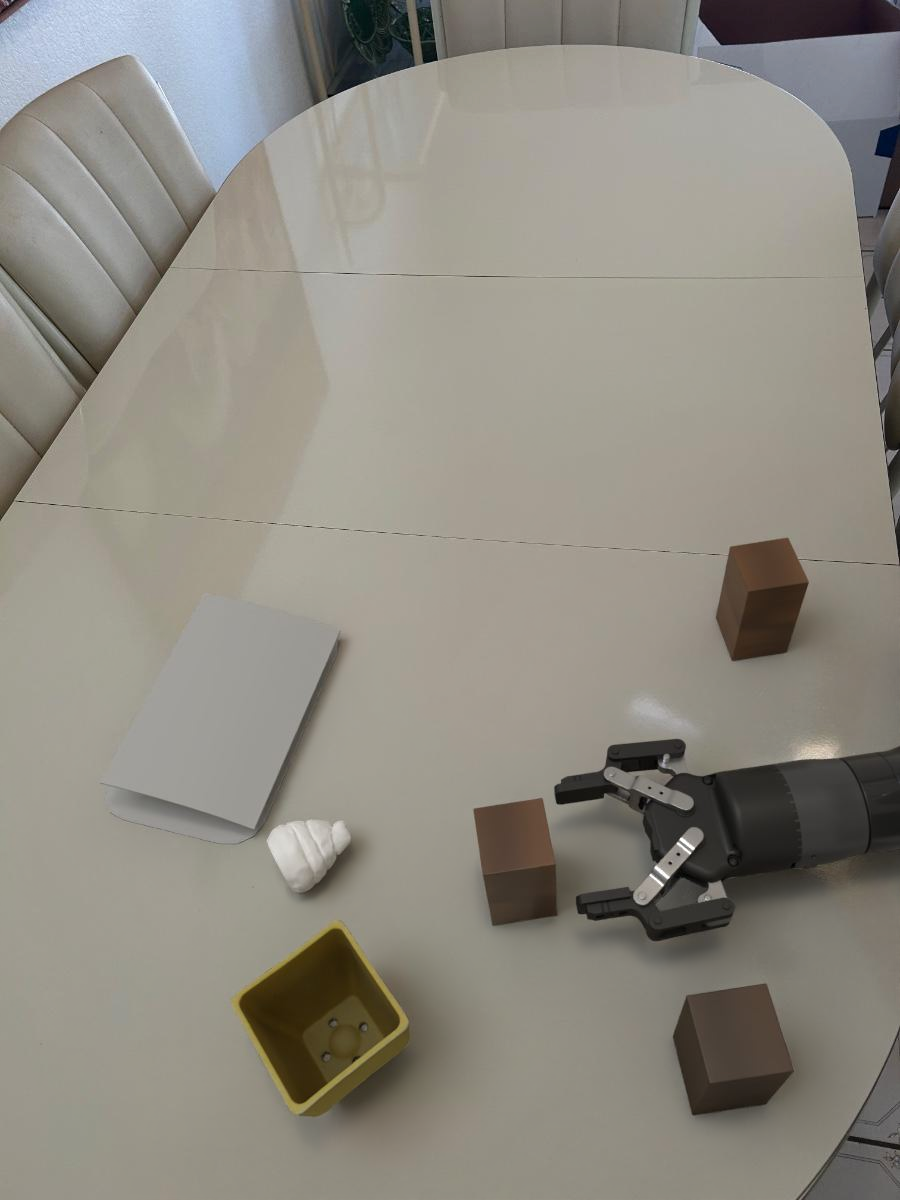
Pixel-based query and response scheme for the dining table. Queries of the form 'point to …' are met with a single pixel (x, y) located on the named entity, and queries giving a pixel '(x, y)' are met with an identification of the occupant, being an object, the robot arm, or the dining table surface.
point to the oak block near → (731, 1049)
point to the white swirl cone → (307, 850)
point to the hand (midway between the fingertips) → (565, 848)
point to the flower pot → (322, 1021)
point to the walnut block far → (760, 598)
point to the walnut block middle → (517, 861)
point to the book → (221, 721)
